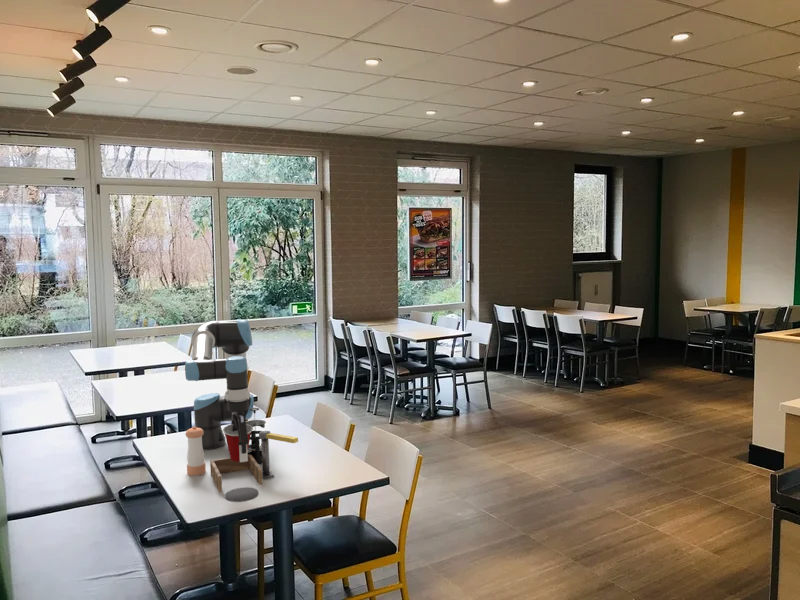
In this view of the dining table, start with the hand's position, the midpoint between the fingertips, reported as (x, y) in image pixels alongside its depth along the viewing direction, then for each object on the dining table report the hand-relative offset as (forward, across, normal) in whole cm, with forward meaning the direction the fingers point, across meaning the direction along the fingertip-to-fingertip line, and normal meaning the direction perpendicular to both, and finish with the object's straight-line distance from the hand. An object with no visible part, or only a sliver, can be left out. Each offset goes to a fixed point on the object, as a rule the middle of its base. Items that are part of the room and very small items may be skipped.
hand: (240, 455), depth 239 cm
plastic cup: (+2, -3, 0) cm, 4 cm away
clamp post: (+15, -14, +12) cm, 24 cm away
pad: (+15, +1, 0) cm, 15 cm away
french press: (+16, -35, +13) cm, 41 cm away
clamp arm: (-1, -9, +16) cm, 19 cm away
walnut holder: (+15, -16, +1) cm, 22 cm away
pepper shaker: (+15, -32, -12) cm, 38 cm away
